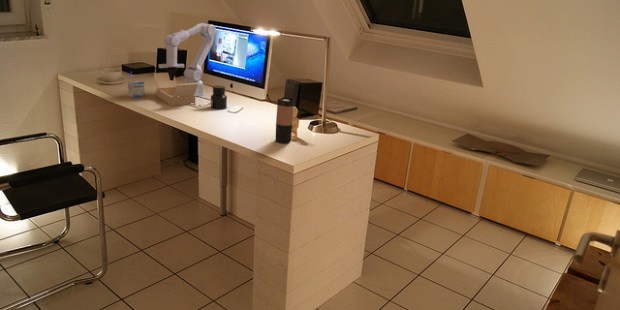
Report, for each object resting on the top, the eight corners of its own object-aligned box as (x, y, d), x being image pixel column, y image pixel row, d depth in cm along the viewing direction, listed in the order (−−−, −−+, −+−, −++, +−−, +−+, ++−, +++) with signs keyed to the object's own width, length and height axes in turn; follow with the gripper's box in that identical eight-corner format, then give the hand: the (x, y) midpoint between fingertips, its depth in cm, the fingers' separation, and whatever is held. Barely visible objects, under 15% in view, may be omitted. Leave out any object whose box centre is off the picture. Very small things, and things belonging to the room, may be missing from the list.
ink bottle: (216, 104, 278) (216, 84, 274) (229, 107, 275) (230, 86, 271) (207, 108, 269) (207, 86, 265) (221, 110, 266) (221, 89, 262)
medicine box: (132, 98, 276) (132, 83, 273) (128, 96, 278) (127, 81, 275) (144, 96, 282) (144, 81, 279) (140, 94, 284) (139, 80, 281)
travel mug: (291, 144, 222) (294, 101, 215) (274, 143, 221) (277, 100, 215) (290, 139, 229) (294, 97, 223) (274, 138, 229) (277, 96, 222)
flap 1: (158, 88, 280) (158, 88, 281) (178, 86, 288) (178, 87, 288) (153, 73, 283) (153, 73, 283) (173, 72, 290) (173, 72, 291)
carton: (179, 95, 291) (179, 87, 289) (195, 104, 275) (195, 95, 273) (156, 97, 282) (156, 88, 280) (171, 106, 266) (171, 97, 264)
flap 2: (193, 94, 273) (193, 95, 273) (172, 96, 265) (172, 96, 265) (198, 83, 265) (198, 83, 265) (177, 84, 258) (177, 85, 258)
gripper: (162, 57, 269) (162, 82, 273) (186, 57, 277) (186, 81, 282) (157, 55, 274) (157, 79, 278) (181, 55, 282) (181, 78, 287)
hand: (171, 80), depth 280 cm, fingers closed
